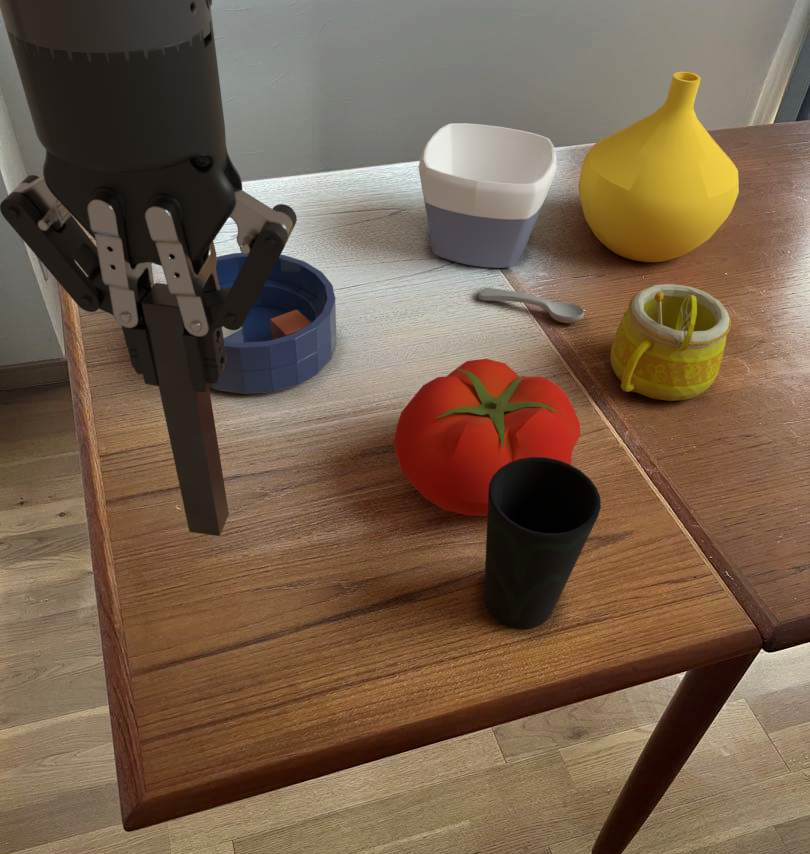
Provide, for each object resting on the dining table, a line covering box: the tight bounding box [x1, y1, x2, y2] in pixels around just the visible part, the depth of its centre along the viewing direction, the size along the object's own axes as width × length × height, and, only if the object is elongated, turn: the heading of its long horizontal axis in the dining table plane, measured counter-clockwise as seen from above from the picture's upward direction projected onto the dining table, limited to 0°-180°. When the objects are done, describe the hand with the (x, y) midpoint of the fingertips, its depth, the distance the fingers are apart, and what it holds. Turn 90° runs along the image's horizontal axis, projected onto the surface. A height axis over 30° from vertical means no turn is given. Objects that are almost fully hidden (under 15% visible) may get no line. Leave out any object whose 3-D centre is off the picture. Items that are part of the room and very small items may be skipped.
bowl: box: [418, 122, 558, 269], centre depth 97 cm, size 15×15×11 cm
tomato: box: [392, 358, 581, 516], centre depth 70 cm, size 14×16×10 cm
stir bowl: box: [210, 252, 337, 395], centre depth 83 cm, size 17×17×6 cm
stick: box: [141, 282, 230, 537], centre depth 46 cm, size 2×2×16 cm
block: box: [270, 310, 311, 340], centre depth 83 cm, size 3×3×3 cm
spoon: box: [478, 287, 585, 324], centre depth 91 cm, size 3×12×2 cm, turn 66°
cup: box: [483, 457, 602, 630], centre depth 60 cm, size 8×8×12 cm
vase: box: [577, 71, 740, 263], centre depth 96 cm, size 18×18×19 cm
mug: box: [609, 283, 732, 402], centre depth 80 cm, size 13×11×12 cm
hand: (183, 378), depth 44 cm, fingers closed on stick, 2 cm apart
